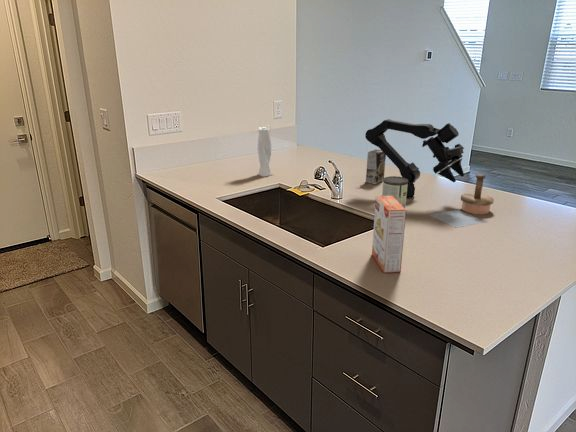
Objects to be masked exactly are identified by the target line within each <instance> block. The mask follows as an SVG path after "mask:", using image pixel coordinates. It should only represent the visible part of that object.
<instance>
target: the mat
mask: <svg viewBox="0 0 576 432" xmlns="http://www.w3.org/2000/svg"><path fill="white" fill-rule="evenodd" d="M428 216H429V217H432V218H433V219H436V220H438V221H440V222H442V223H445V224H447V225H449V226H451V227H453V228H455V229H456V228H457V229H458V228H463V227H468V226H473V225H477V224H482V223H487V221H486V220H484V219H481V218H478V217H477V216H474V215H472V214H470V213H468V212H466V211H463V210H459V209H453V210H447V211H441V212H435V213H430V214H428Z"/></svg>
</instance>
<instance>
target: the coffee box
mask: <svg viewBox="0 0 576 432" xmlns="http://www.w3.org/2000/svg"><path fill="white" fill-rule="evenodd" d="M386 158H387V156H386V155H385V154H384V152H383V151H382V150H381V149H373V150H370V151H367V161H366V174H365V183H369V184H374V185H377V184H379V183H383V178H385V169H386Z"/></svg>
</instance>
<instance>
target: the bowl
mask: <svg viewBox="0 0 576 432" xmlns="http://www.w3.org/2000/svg"><path fill="white" fill-rule="evenodd" d="M461 209H462V210H461V211H463V212H465V213H468V214H474V215H486V214H489V213H490V210H491V205H485V206H481V205H472V204H468V203H465V202H463V201H462V204H461Z"/></svg>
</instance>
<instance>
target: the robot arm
mask: <svg viewBox="0 0 576 432" xmlns="http://www.w3.org/2000/svg"><path fill="white" fill-rule="evenodd" d="M388 130H391V131H397V132H401V133H408V134H411V135H413V136H415V137H416V138H420V139H423V140H422V146H421V147H422V148H424V147H428V148H429V150H430V151H431V153H432V158H436V160H437V162H438V163H437V164H436V165H435V166H433V167H432V171H433V173H434V174H435V175H436V174H437V175H440V176H442V177H443V178H445V179H447V180H448V181H451V182H453V183H455V182H456V181H457V180H456V178H455V176H454V174H453V172H452V170H453V171H454V172H455V173H456V174H458V175H459V176H461V177H464V176H465V173H464V170H463V167H462V161H463V157H464V156H463V154H464V149H465V148H464V146H463V145H461V144H460V143H457V144H455V145H454V147H453V148H450V147H449V146H445V144H449V143H450V142H452V140H454V139H455V138H457V137H459V135H460V133H459V132H458V130H457V128H456V127H455V126H453V125H452V124H451V123H450V122H448V123H446V124H444V126H443V127H441V128H436V127H434V125H432V124H430V123H420V124H419V123H417V124H415V123H409V122H403V121H399V120H398V121H397V120H392V119H389V118H388V119H384V120H383V121H382V122H381V123H379V124H378V125H376V126H374V127H373V128H370V129H367V130H366V132H365V139H366V141H368V142H369V143H370V144H372V145H374V146H375V147H377V148H379V150H382V151H383V152H384V154H385V155H386V158H387V157H388V159H389V160H390V161H391V162H392V163H393V165H394V166H396V168H398V171H399V173H400V177H403V178H406V179H408V186H407V196H406V199H414V198H415V191H416V187H415V183H416V181H417V180H418V179H420V176H421V171H420V167H417V165H416V163H414V162H410V163H409V162H407V161H406V160H405V159H404V158H403V157H402V156H401V155H400V153H399V152H398V151H396V149H395V148H394V147H393V146H392V145H391V144H390V143H389V142H388V141H387V138H386V136H385V133H387V131H388ZM434 136H435V137H434ZM426 139H427V140H426ZM451 169H452V170H451Z"/></svg>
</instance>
